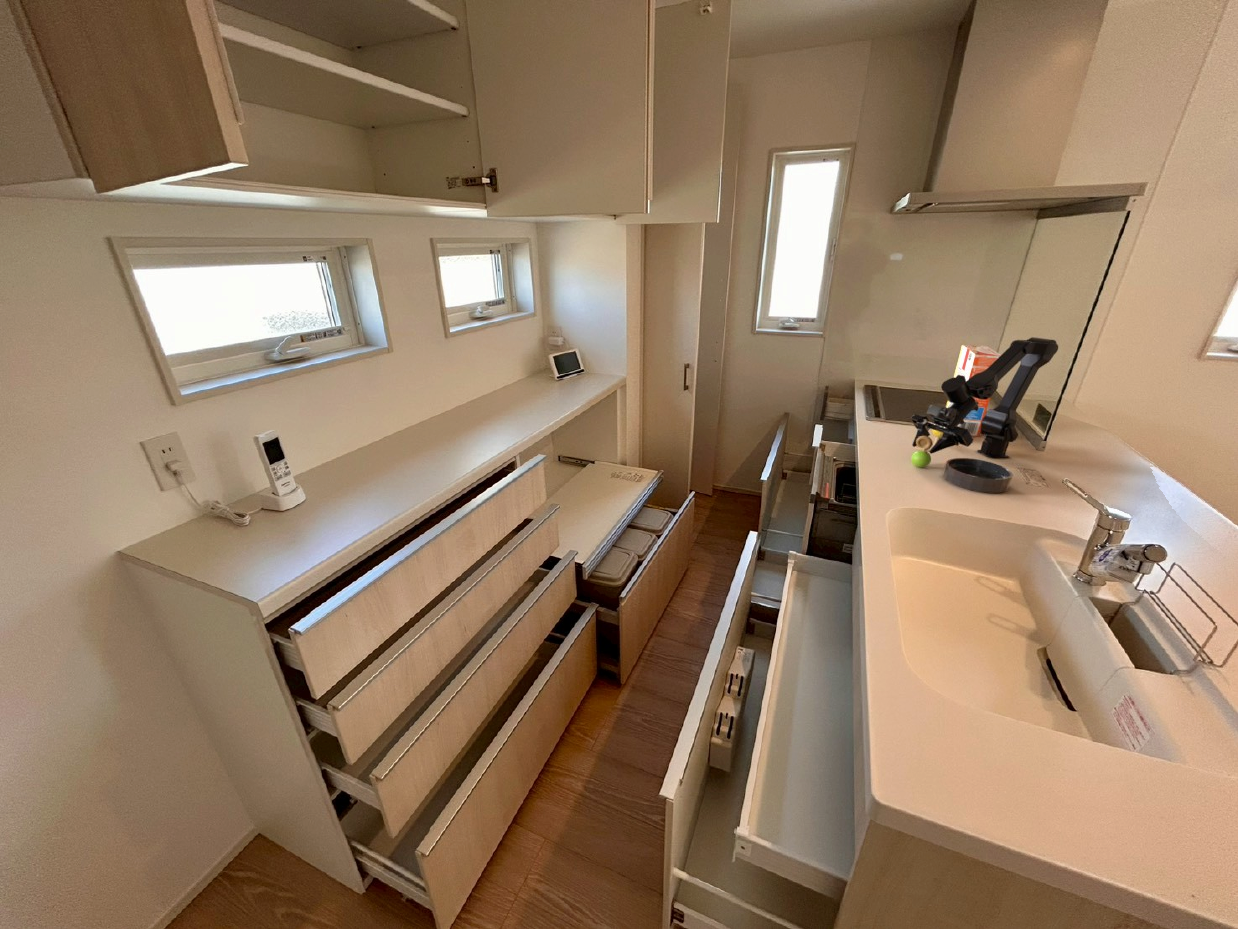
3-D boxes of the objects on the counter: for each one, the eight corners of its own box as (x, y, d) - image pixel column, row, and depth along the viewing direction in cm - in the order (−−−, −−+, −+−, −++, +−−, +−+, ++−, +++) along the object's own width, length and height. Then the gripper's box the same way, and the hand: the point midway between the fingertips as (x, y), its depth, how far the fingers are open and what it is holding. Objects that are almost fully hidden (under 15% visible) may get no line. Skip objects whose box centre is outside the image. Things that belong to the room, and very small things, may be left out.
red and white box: (978, 436, 185) (1002, 355, 174) (953, 434, 188) (975, 354, 177) (965, 419, 205) (986, 345, 193) (943, 417, 208) (962, 344, 196)
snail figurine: (930, 472, 155) (940, 435, 150) (907, 467, 158) (916, 431, 154) (933, 467, 159) (942, 431, 154) (911, 462, 162) (919, 427, 158)
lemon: (948, 442, 179) (953, 421, 176) (930, 440, 182) (935, 419, 179) (947, 438, 184) (953, 417, 180) (930, 436, 186) (935, 415, 183)
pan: (980, 470, 156) (984, 457, 154) (1022, 493, 141) (1027, 478, 139) (930, 471, 155) (934, 458, 153) (967, 494, 140) (971, 480, 138)
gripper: (921, 388, 159) (887, 425, 160) (976, 403, 143) (938, 444, 144) (933, 410, 164) (900, 445, 165) (988, 426, 148) (952, 465, 149)
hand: (921, 449), depth 156 cm, fingers open, 6 cm apart
